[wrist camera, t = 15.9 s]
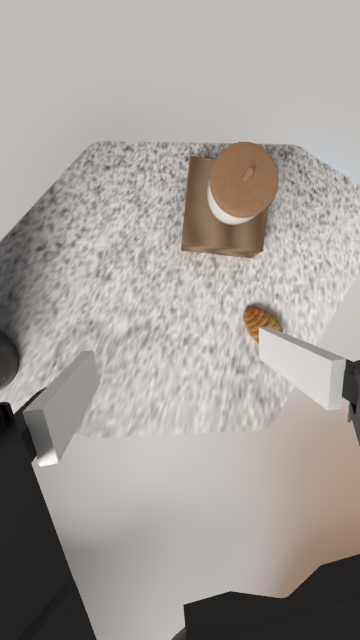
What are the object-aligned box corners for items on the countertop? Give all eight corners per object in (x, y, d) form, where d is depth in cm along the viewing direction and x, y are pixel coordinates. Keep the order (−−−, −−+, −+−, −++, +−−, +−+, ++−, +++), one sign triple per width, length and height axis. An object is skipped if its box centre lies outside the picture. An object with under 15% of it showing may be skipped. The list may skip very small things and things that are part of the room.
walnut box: (181, 251, 43) (182, 241, 37) (187, 177, 42) (190, 156, 36) (250, 258, 44) (262, 250, 38) (258, 186, 43) (272, 167, 37)
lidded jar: (215, 165, 36) (233, 116, 27) (264, 191, 37) (297, 154, 28) (192, 218, 36) (201, 189, 27) (241, 242, 38) (266, 223, 28)
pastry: (234, 319, 44) (240, 320, 40) (254, 299, 44) (263, 298, 40) (260, 348, 45) (269, 351, 41) (281, 328, 45) (291, 329, 41)
